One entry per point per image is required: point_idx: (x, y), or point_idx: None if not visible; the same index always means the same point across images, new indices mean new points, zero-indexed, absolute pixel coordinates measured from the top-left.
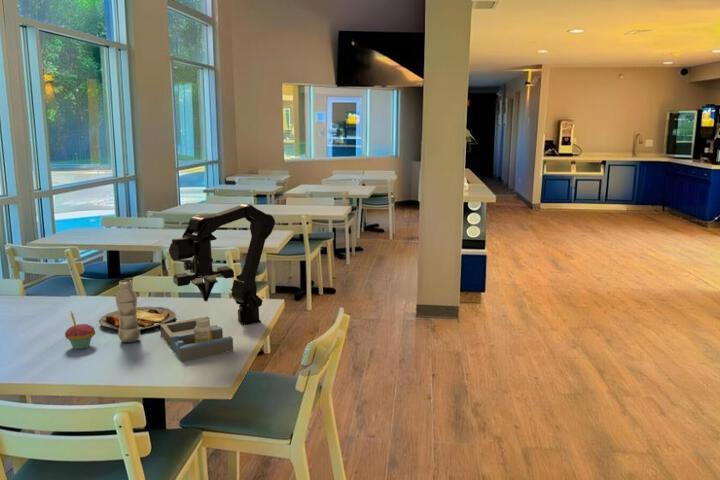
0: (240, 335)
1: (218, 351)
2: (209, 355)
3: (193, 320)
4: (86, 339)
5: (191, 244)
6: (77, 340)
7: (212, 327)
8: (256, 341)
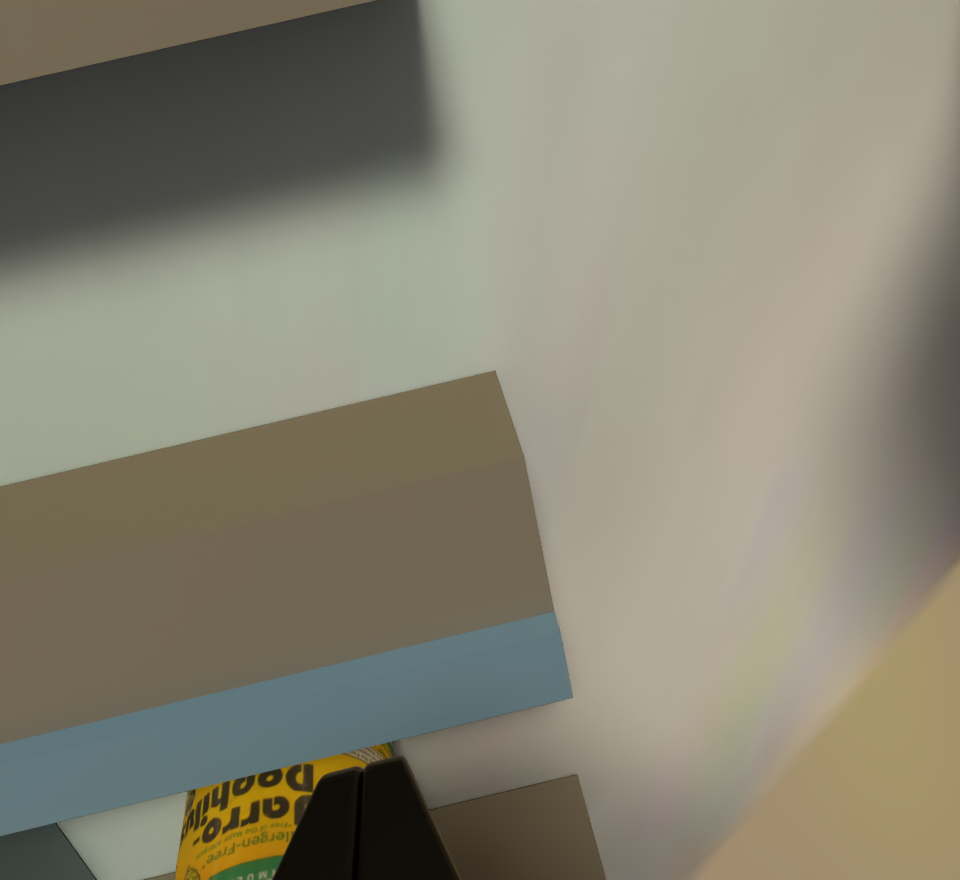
0: (786, 460)
1: None
2: None
3: (41, 39)
4: None
5: None
6: None
7: (440, 546)
8: (872, 659)
